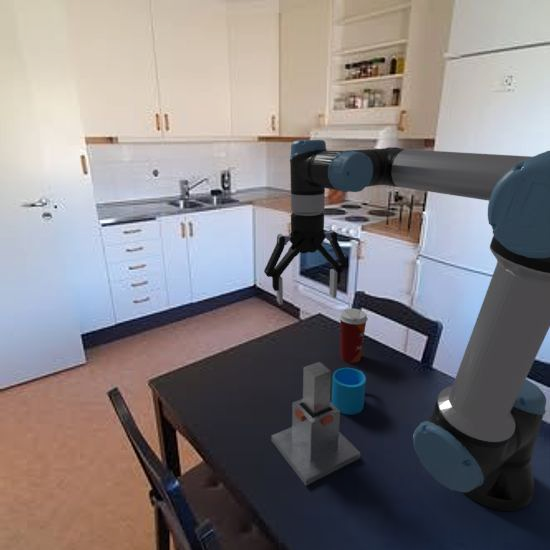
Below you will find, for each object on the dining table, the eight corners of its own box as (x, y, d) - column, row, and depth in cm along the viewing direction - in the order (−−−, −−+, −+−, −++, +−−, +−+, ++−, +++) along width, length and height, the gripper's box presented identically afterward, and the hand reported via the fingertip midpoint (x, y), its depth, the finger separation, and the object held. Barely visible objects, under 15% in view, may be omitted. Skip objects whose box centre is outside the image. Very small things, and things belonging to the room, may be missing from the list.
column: (328, 445, 87) (332, 371, 80) (312, 453, 85) (314, 377, 78) (317, 433, 91) (319, 361, 84) (301, 440, 89) (302, 367, 82)
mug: (353, 419, 97) (355, 391, 94) (325, 405, 102) (326, 378, 100) (376, 395, 106) (379, 369, 103) (350, 383, 111) (351, 358, 108)
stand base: (360, 458, 86) (363, 414, 82) (305, 485, 80) (306, 439, 75) (321, 419, 97) (323, 378, 93) (271, 440, 91) (270, 398, 87)
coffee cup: (366, 364, 119) (370, 319, 114) (339, 364, 119) (341, 319, 114) (361, 350, 127) (364, 307, 122) (335, 350, 127) (337, 307, 122)
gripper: (351, 205, 96) (347, 287, 103) (249, 212, 90) (253, 299, 98) (365, 211, 89) (360, 298, 97) (256, 219, 84) (260, 311, 91)
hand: (306, 299), depth 97 cm, fingers open, 13 cm apart
